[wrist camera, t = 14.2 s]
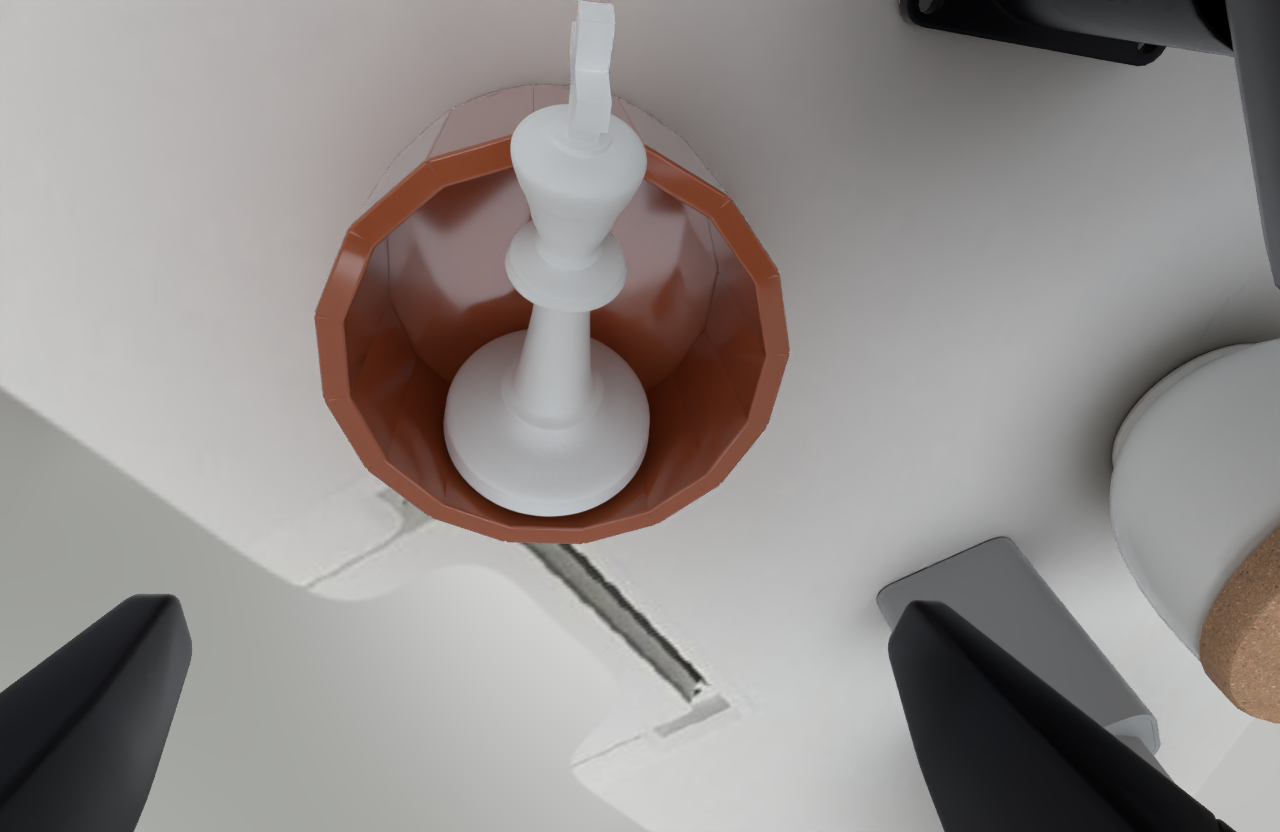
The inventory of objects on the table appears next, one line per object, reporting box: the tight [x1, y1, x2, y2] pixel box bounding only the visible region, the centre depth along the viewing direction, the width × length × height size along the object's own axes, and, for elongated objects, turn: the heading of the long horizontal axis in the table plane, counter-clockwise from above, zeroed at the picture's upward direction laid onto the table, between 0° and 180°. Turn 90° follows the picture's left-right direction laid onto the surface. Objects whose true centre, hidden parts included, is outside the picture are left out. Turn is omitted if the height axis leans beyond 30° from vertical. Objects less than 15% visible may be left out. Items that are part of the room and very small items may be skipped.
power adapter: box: [877, 538, 1174, 783], centre depth 22 cm, size 3×5×12 cm, turn 118°
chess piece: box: [443, 0, 650, 516], centre depth 13 cm, size 5×5×10 cm
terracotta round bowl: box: [315, 84, 790, 544], centre depth 16 cm, size 9×9×5 cm
